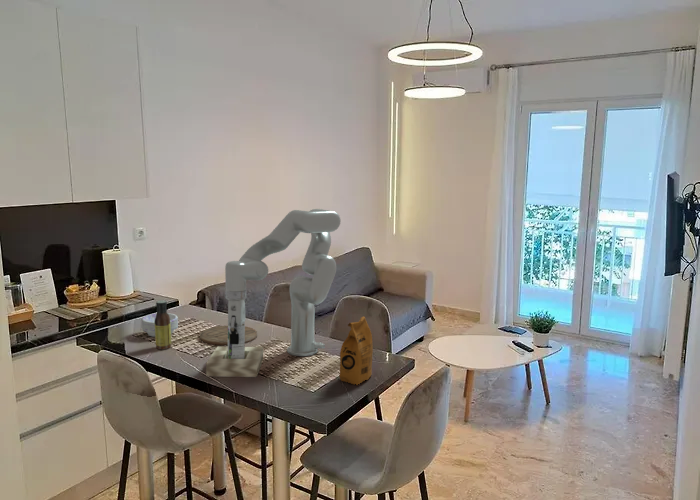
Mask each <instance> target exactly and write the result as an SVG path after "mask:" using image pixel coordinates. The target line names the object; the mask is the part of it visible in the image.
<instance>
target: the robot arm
mask: <svg viewBox="0 0 700 500" xmlns="http://www.w3.org/2000/svg"><path fill="white" fill-rule="evenodd" d="M340 226H341V217H340V215H339V213H337V212H336V211H334V210H330V209H322V208H321V209H320V208H313V209H310V210H300V209H293V210H291V211H289V212H288V213H286V215H285V216H284V217H283V218H282V220H281V221H280V222H279V223H278V225H277V226H276V227H275V228H274V229H273V230H272V231H271V232H270V233H269V234H268V235H267V236H265V237H263V238H261V239H260V240H259V241H257V242H256V243H254V244H252V245H251V246H249V248H247V250H246V251H245V252H244V253H243V254H242V255H241V257H240V258H239V259H238V260H232V261H228V262H226V263H225V270H224V271H225V272H224V273H225V278H224V279H225V300H227V301H228V304H227V307H228V308H227V311H228V312H227V326H228V325H229V326H230V323H231V326H230V344H239V333H238V326H240V327H241V326H242V325H243V322H245V321H246V303H245V300H246V299H247V281H261V280H263V279H265V278H267V276H268V273H269V266H268V265H267V264H266V263H265V262H264V261H263V260H264V259H265V258H266V257H269V256H270V255H272V254H277V253H280V252H282V251H285V250H287V248H288V247H290V245H291V244H292V243H293V241H295V239H296V238H297V236H299V235H300V233H304V234H311V237H310V242H309V245H308V247H307V250H306V252H305V255H304V258H303V260H302V262H301V263H302V264H301V269H302V271H303V272H304V273H305V274H308V275H309V276H312V278H311V277H307V276H302V275H301V276H296V277H295V278H293V279H292V280H291V281H290V284H289V296H290V301H291V302H290V303H291V304H290V305H291V315H290V316H291V317H290V318H291V323H290V328H291V329H290V334H291V335H290V339H291V341H290V345H289V346H288V347H287V353H288V354H289V355H291V356H296V357H310V356H313V355H315V354H317V353H318V352H319V351H318V349H326V347H325V346H326V344H325V343H323V342H317V341H316V339H315V309H316V308H315V305H320V304H321V303H323V302H325V300H326V298H327V296H328V294H329V292H330V289H331V287H332V284H333V281H334V279H335V276H336V273H337V262H336V259H335V258H334V257H332V256H331V255H329V252H330V249H331V245H332V237H331V233H332V232H335V231H336V230H337V229H339V227H340ZM235 324H237V325H235ZM235 327H236V328H235Z"/></svg>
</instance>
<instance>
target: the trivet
mask: <svg viewBox="0 0 700 500" xmlns="http://www.w3.org/2000/svg"><path fill="white" fill-rule="evenodd" d="M257 332H258V331H257V330H256V329H254V328H252V327H250V326H246V325H245V344H248V343H251V342H252V341H254V340H256V339H257V336H258V333H257ZM199 340H200V341H201V342H202V341H203V342H202V343H204V344H206V343H207V345H211V346H217V347H228V325H219V326H213V327H210V328H207V329H205V330H202V332H200V334H199Z"/></svg>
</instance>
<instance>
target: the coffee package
mask: <svg viewBox="0 0 700 500" xmlns="http://www.w3.org/2000/svg"><path fill="white" fill-rule="evenodd" d="M347 327H349V328H350V330H349V331H348V334H347V337H346V339H344V341H343V343H342V345H341V348H340V352H339V361H340V363H339V380H340V381H341V382H345V383H347V382H348V384H351V385H355V384H356V385H355V386H359V385H361V384H362V383H363V382H366V381H365V380H367V381H368V380H369V379H370V378H371V377H372V376H373V374H372V371H373V369H372V368H373V353H374V351H373V350H374V349H373V348H374V347H373V335H372V331H371V327H370V326H369V323H368V321H367V319H366V317H365V316H360V318H359V321H355V322H349V323H348V324H347ZM371 375H372V376H371ZM360 383H361V384H360ZM358 384H359V385H358Z"/></svg>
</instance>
